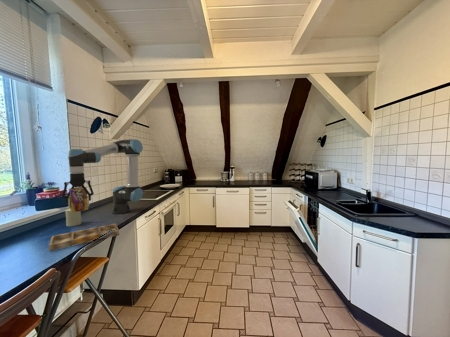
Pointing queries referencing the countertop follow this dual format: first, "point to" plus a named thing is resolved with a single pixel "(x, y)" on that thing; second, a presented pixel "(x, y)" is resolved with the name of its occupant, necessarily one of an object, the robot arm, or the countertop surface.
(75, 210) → the candy box
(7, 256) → the countertop surface
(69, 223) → the can
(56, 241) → the rack
